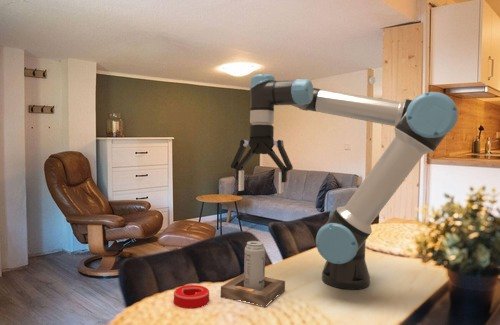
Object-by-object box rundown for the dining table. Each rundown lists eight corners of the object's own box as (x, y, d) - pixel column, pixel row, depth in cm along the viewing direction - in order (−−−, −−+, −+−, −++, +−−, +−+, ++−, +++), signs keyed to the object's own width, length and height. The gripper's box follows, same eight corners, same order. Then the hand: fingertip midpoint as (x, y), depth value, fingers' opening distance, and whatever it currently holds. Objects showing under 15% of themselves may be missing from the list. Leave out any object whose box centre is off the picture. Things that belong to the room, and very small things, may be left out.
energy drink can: (264, 298, 108) (265, 245, 108) (243, 297, 108) (244, 245, 108) (263, 290, 114) (265, 240, 114) (243, 289, 114) (245, 240, 114)
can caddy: (284, 290, 114) (285, 279, 114) (265, 307, 102) (265, 295, 102) (243, 282, 121) (243, 271, 120) (220, 297, 108) (220, 285, 108)
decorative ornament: (180, 294, 110) (181, 283, 110) (213, 297, 109) (213, 286, 109) (168, 307, 101) (168, 295, 101) (203, 310, 99) (203, 299, 99)
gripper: (303, 125, 119) (302, 192, 119) (231, 125, 129) (230, 188, 129) (296, 123, 112) (295, 195, 113) (221, 124, 122) (220, 190, 122)
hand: (260, 191), depth 121 cm, fingers open, 13 cm apart
